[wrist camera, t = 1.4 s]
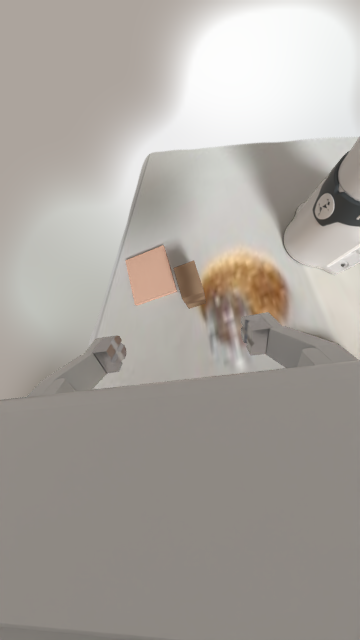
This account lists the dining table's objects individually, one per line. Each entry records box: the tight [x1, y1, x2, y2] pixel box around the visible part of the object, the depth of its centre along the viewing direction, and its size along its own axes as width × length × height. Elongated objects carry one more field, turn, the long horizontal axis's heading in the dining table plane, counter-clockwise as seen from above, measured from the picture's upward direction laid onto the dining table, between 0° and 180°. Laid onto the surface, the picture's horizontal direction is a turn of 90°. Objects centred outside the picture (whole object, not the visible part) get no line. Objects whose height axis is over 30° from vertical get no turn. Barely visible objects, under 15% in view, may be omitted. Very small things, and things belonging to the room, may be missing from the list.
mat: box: [125, 245, 177, 305], centre depth 42 cm, size 12×14×1 cm
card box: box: [174, 261, 206, 309], centre depth 35 cm, size 4×7×9 cm, turn 16°
